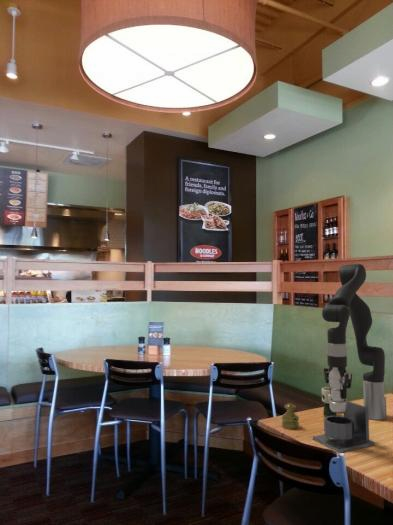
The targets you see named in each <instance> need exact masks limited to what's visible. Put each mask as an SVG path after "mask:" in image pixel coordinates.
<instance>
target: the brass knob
mask: <svg viewBox="0 0 393 525" xmlns="http://www.w3.org/2000/svg"><path fill="white" fill-rule="evenodd" d="M284 408H285V409H286V412H285V413H284V414H282V416H281V419H282V421H281V425H282V427H283V428H285V429H287V430H296V429H299V427H300V425H299V424H300V422H299V418H300V417H299V416H298V415H297V414H296V413H295V412H294V410H295V409H296V408H297V407H296V405H294V404H293V403H287V404H285V405H284Z"/></svg>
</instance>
